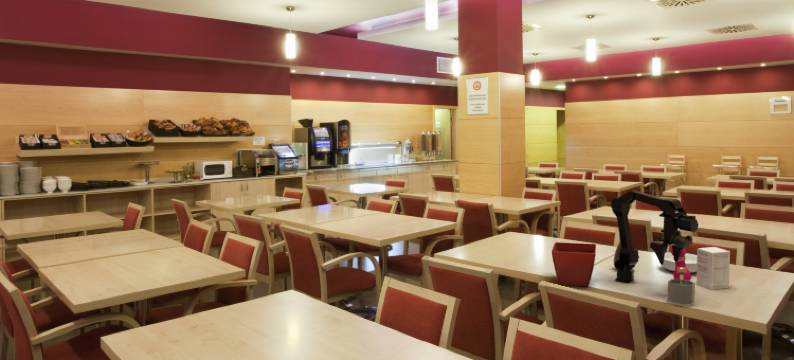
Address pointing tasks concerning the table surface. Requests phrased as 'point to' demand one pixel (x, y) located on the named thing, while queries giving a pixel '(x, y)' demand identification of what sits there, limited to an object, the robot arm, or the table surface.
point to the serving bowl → (690, 262)
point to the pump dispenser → (617, 253)
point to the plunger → (681, 274)
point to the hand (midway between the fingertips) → (668, 263)
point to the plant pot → (574, 263)
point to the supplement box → (713, 267)
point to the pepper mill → (682, 263)
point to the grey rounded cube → (681, 293)
